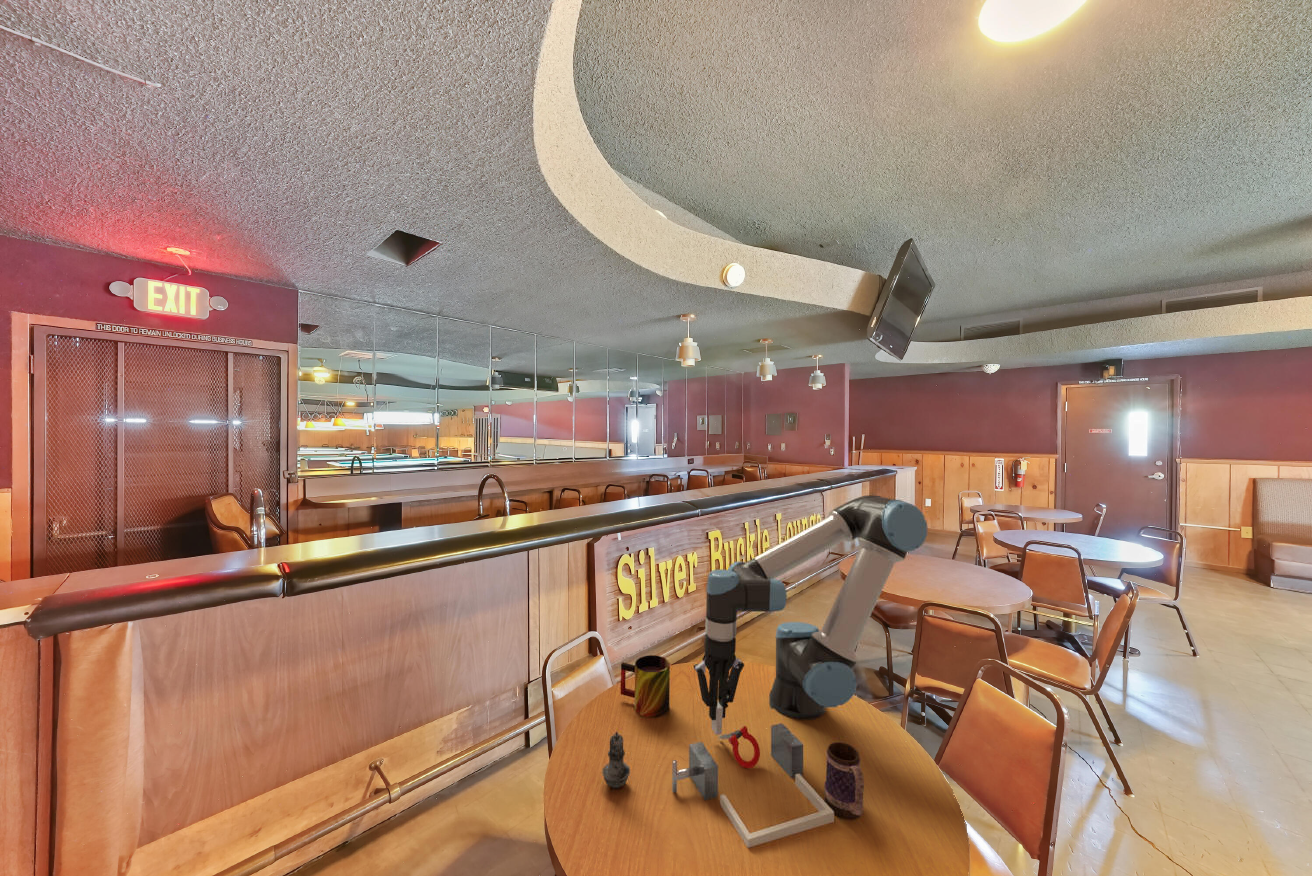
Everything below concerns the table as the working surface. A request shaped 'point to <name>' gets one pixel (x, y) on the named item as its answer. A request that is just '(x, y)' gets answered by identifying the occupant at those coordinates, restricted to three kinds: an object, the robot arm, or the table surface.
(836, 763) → the mug
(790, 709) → the robot arm
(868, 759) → the table surface
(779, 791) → the table surface
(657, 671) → the mug
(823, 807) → the corral
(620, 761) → the chess piece
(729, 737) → the tow hook
